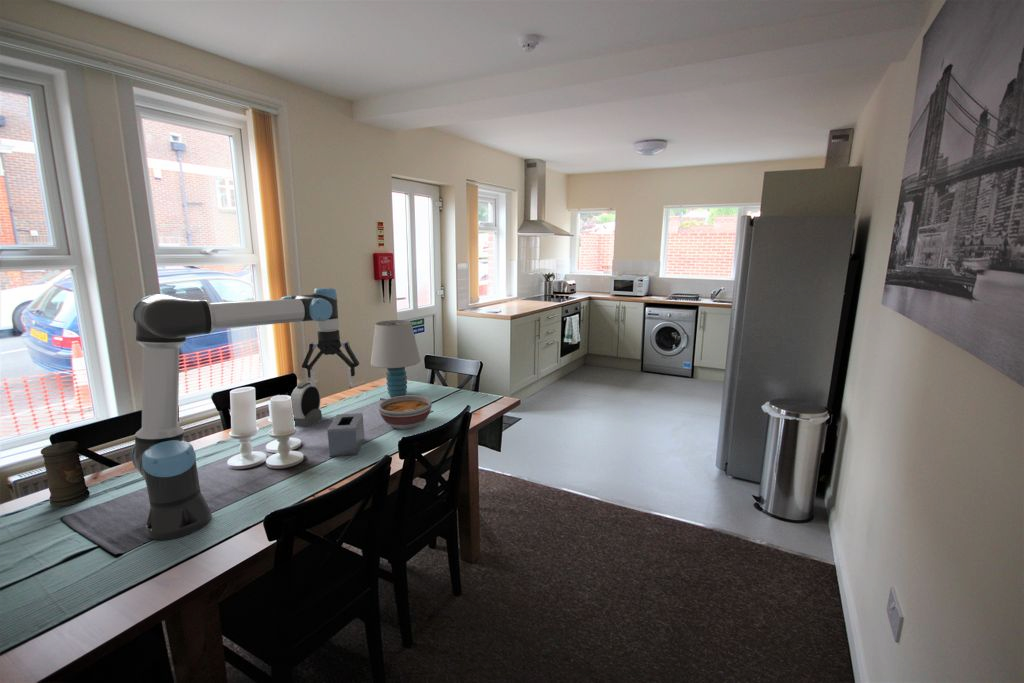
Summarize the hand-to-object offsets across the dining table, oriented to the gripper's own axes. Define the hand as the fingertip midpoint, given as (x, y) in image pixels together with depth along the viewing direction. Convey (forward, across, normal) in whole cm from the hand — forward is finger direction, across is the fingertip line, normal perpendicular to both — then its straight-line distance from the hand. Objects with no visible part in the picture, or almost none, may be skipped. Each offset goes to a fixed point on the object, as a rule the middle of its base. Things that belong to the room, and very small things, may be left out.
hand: (332, 385), depth 176 cm
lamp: (+26, -16, -66) cm, 73 cm away
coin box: (+26, -4, -2) cm, 27 cm away
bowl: (+26, -24, -23) cm, 43 cm away
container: (+27, +75, +25) cm, 84 cm away
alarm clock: (+26, +21, -34) cm, 48 cm away
